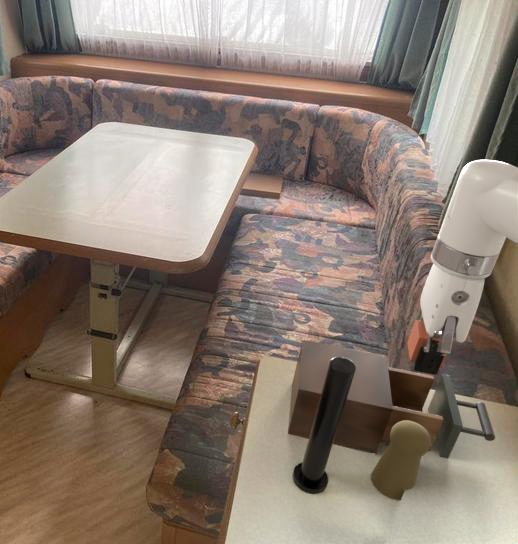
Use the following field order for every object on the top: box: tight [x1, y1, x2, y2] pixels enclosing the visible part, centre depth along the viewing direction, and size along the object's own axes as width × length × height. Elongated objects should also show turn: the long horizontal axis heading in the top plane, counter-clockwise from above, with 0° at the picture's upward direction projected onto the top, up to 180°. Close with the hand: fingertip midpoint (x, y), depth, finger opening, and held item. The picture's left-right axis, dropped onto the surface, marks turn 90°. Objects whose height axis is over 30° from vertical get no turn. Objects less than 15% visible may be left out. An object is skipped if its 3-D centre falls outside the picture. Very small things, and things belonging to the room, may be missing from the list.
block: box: [406, 319, 449, 368], centre depth 84 cm, size 4×4×4 cm
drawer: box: [380, 366, 496, 460], centre depth 90 cm, size 18×11×8 cm, turn 75°
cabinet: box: [287, 339, 393, 455], centre depth 93 cm, size 14×13×10 cm
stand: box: [292, 357, 356, 495], centre depth 78 cm, size 5×5×22 cm
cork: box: [370, 420, 431, 501], centre depth 82 cm, size 6×6×11 cm
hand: (422, 359), depth 86 cm, fingers closed on block, 4 cm apart
